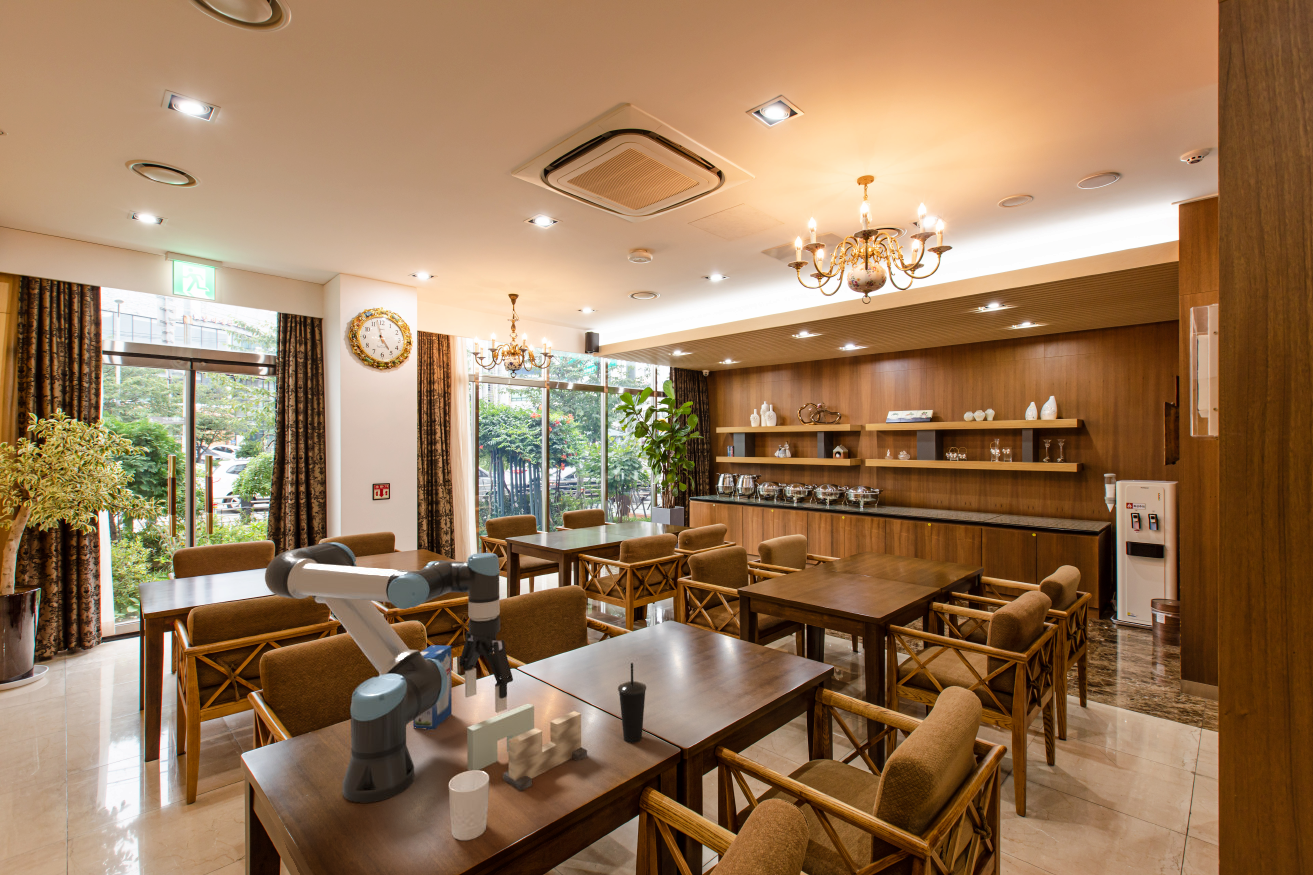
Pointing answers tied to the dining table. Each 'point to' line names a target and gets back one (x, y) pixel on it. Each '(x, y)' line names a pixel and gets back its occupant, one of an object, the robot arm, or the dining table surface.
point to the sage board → (496, 735)
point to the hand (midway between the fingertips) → (485, 702)
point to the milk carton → (444, 706)
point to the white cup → (469, 804)
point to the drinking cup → (632, 708)
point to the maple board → (544, 750)
